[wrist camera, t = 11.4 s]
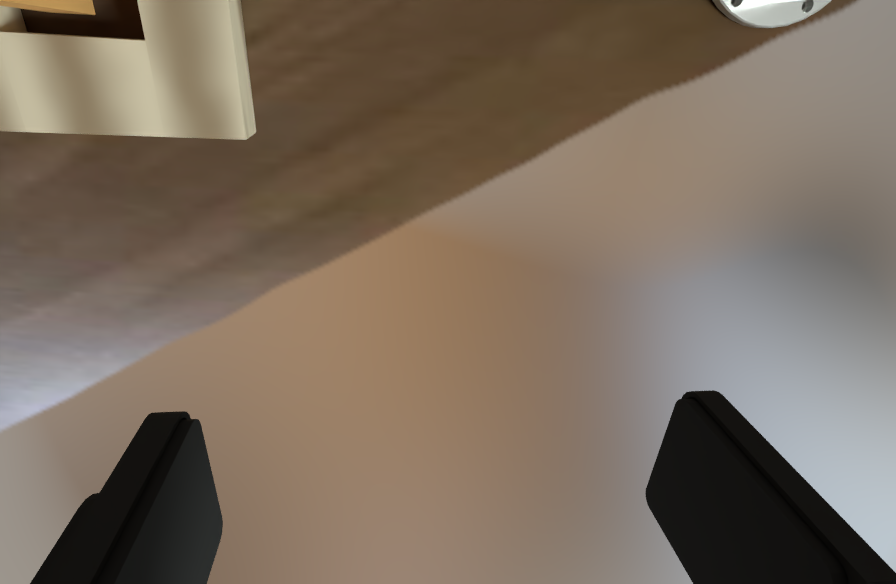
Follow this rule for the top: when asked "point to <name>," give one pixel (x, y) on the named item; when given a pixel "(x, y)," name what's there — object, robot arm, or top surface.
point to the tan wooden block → (53, 6)
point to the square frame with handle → (132, 75)
